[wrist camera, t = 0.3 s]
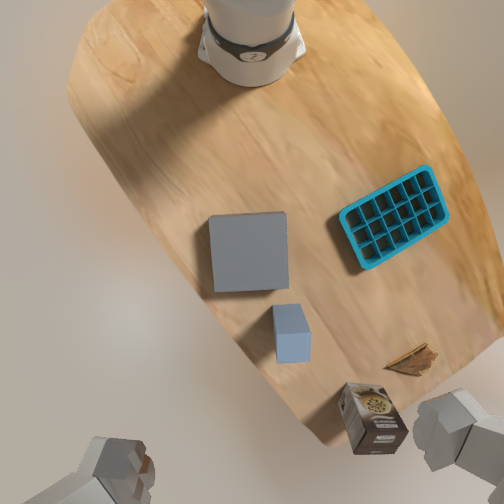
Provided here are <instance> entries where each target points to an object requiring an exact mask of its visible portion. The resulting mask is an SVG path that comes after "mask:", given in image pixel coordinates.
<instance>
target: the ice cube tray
mask: <svg viewBox="0 0 504 504" xmlns="http://www.w3.org/2000/svg"><path fill="white" fill-rule="evenodd" d="M418 173H421V174H422V177H423V179H424V181H425V184H426V186H425V187H423V188H422V189H420V186H419V184H418V182H417V179H416V177H415V175H416V174H418ZM407 179H409V180H410V183H411V185H412V187H413V190H414V192H415V193H413V194H411V195H409V196H408V195H407V193H406V191H405V188H404V186H403V184H402V182H403V181H405V180H407ZM394 186H397V189H398V191H399V193H400V195H401V198H402V200H401V201H399V202H397V203H395V204H394V202H393V199H392V197H391V195H390V193H389V189H391V188H393V187H394ZM427 190H428V191H429V194H430V196H431V199H432V201H431V202H430V203H428V204H427V203H426V201H425V198H424V196H423V192H425V191H427ZM382 193H383V194H384V196H385V198H386V201H387V203H388V205H389V207H388V208H387V209H385V210H383V211H381V212H380V210H379V207H378V205H377V203H376V201H375V199H374V197H376V196H378V195H380V194H382ZM415 197H417V199H418V202H419V204H420V207H421V208H420V209H418V210H416V211H414V210H413V207H412V205H411V202H410V200H411V199H413V198H415ZM367 201H370V203H371V205H372V207H373V210H374V212H375V214H376V215H374V216H372V217H371V218H369V219H367V220H366V219H365V217H364V215H363V213H362V210H361V208H360V205H362V204H364V203H365V202H367ZM403 204H404V205H405V207H406V210H407V212H408V214H409V215H408V216H406V217H404V218H403V219H401V218H400V216H399V213H398V211H397V209H396V208H398V207H399V206H401V205H403ZM433 206H435V209H436V212H437V216H436V218H435V219H434V220H433V219H432V216H431V214H430V211H429V208H431V207H433ZM354 208H355V209H356V211H357V213H358V215H359V218H360V220H361V222H362V223H360V224H358V225H356V226H354V227H353V228H351V229H350V228H349V226H348V224H347V222H346V220H345V216H346V214H347V213H348V212H349V211H351V210H353V209H354ZM389 212H392V214H393V217H394V219H395V221H396V223H394V224H392V225H391V226H389V227H387V225H386V223H385V221H384V219H383V216H384V215H385V214H387V213H389ZM421 213H423V214H424V217H425V220H426V222H427V224H426V225H424V226H422V227H421V228H420V225H419V222H418V220H417V217H416V216H418V215H419V214H421ZM376 219H378V221H379V223H380V225H381V227H382V231H380V232H378V233H377V234H375V235H373V234H372V232H371V230H370V228H369V226H368V224H369V223H371V222H373V221H375V220H376ZM339 220H340V223H341V225H342V227H343V229H344V231H345V233H346V235H347V237H348V239H349V241H350V243H351V246H352V248H353V250H354V252H355V254H356V256H357V259H358V261H359V263H360V265H361V267H362V268H364V269H365V270H369V269H372V268H374V267H376V266H377V265H379V264H381V263H382V262H384V261H386V260H388V259H389V258H391V257H393V256H394V255H396V254H398V253H399V252H401V251H403V250H404V249H406V248H408V247H409V246H411V245H412V244H414V243H416V242H417V241H419V240H421V239H422V238H424V237H425V236H427V235H429V234H430V233H432V232H433V231H435V230H436V229H438V228H440V227H441V226H443V225H444V224H446V223H447V222H448V220H449V212H448V209H447V207H446V204H445V201H444V198H443V196H442V193H441V191H440V188H439V185H438V183H437V180H436V178H435V176H434V173H433V171H432V168H431V167H430V166H428V165H422V166H420V167H418V168H417V169H415V170H413V171H411V172H409V173H408V174H406V175H404V176H402V177H400V178H398V179H397V180H395V181H393V182H391V183H389V184H387V185H386V186H384V187H382V188H380V189H378V190H376V191H375V192H373V193H371V194H369V195H367V196H365V197H364V198H362V199H360V200H358V201H356V202H354V203H353V204H351V205H349V206H347V207H345V208H343V209H342V210H341V212H340V213H339ZM409 220H411V222H412V224H413V227H414V229H415V231H414V232H413V233H411V234H409V235H407V233H406V230H405V228H404V225H403V224H404V223H406V222H408V221H409ZM362 227H364V228H365V230H366V233H367V235H368V237H369V238H368V239H366V240H364V241H363V242H361V243H359V244H357V243H356V241H355V239H354V237H353V235H352V233H353V232H355V231H357V230H359V229H360V228H362ZM396 228H398V229H399V231H400V233H401V236H402V238H403V239H401V240H399V241H398V242H396V243H394V242H393V240H392V237H391V235H390V232H391V231H392V230H394V229H396ZM384 235H385V237H386V239H387V241H388V244H389V247H387V248H386V249H384V250H382V251H381V252H380V251H379V248H378V246H377V244H376V241H375V240H377V239H379V238H380V237H382V236H384ZM370 243H371V244H372V246H373V248H374V251H375V253H376V254H375V255H374V256H372V257H370V258H368V259H363V256H362V254H361V252H360V250H359V249H361V248H363V247H365V246H366V245H368V244H370Z"/></svg>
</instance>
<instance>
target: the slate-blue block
mask: <svg viewBox="0 0 504 504" xmlns="http://www.w3.org/2000/svg"><path fill="white" fill-rule="evenodd" d="M272 310H273V334H274V342H275V350H276V359H277V364H279V363H295V362H309V361H310V343H311V332H310V329H309V326H308V324H307V321H306V318H305V315H304V313H303V310H302V307H301V305H300V304H286V305H272Z"/></svg>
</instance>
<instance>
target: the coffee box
mask: <svg viewBox="0 0 504 504" xmlns="http://www.w3.org/2000/svg"><path fill="white" fill-rule="evenodd" d="M338 407H339V410H340V413H341V416H342V418H343V421H344V425H345V428H346V431H347V434H348V437H349V440H350V443H351V446H352V449H353V453H354V454H355V455H370V454H395V452H396V450H397V449H398V447H399V446H400V445H401V443H402V442H403V440H404V439H405V437H406V435H407V434H408V432H409V431H408V429H407V428H406V426H405V424H404V422H403V421H402V419H401V417H400V415H399V414H398V412H397V410H396V408H395V407H394V405H393V403H392V401H391V400H390V398H389V396H388V395H387V393H386V391H385V389H384V388H383V386H378V385H367V384H357V383H346V386H345V388H344V390H343V392H342V395H341V397H340V399H339V401H338Z"/></svg>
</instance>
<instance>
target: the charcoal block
mask: <svg viewBox="0 0 504 504" xmlns="http://www.w3.org/2000/svg"><path fill="white" fill-rule="evenodd" d="M208 219H209V232H210V245H211V257H212V269H213V280H214V290H215V292H232V291H252V290H271V289H288V288H289V276H288V245H287V220H286V213H285V212H284V211H281V212H261V213H243V214H227V215H212V216H211V217H209V218H208Z"/></svg>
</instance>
